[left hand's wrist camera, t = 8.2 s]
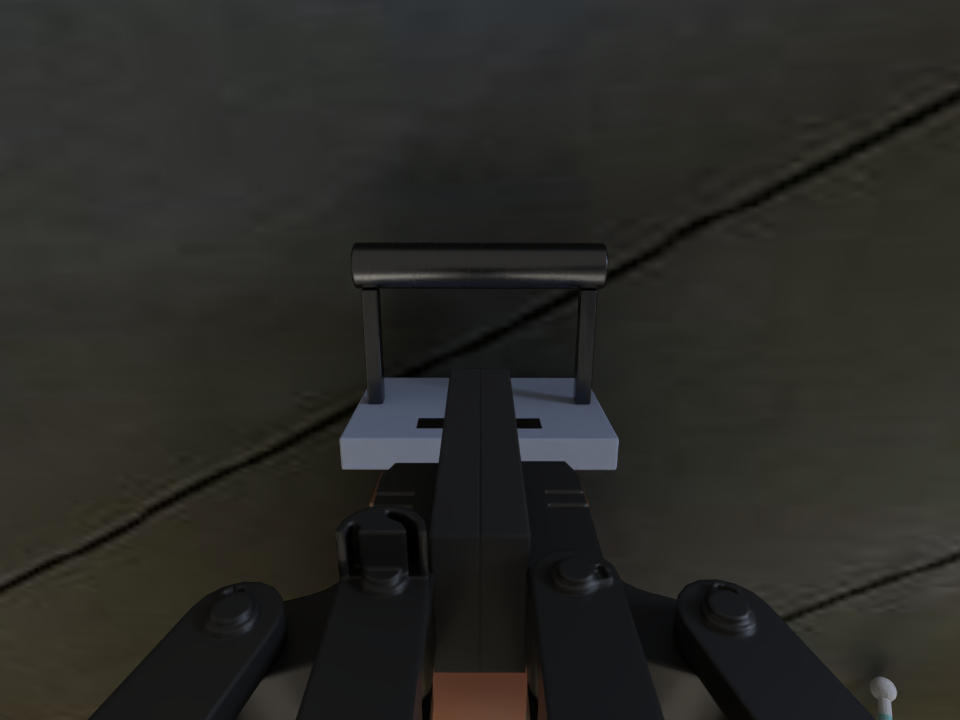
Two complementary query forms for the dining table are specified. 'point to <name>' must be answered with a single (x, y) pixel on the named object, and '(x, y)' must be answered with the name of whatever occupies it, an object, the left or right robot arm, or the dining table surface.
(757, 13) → the dining table surface
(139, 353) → the dining table surface
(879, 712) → the molecular model
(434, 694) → the cabinet
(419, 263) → the drawer
